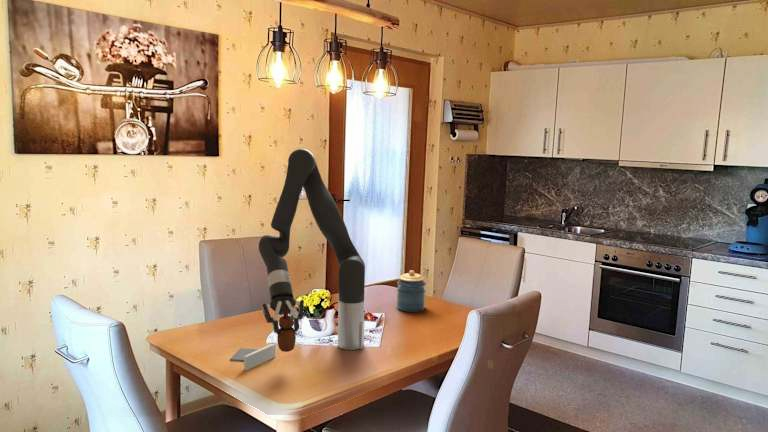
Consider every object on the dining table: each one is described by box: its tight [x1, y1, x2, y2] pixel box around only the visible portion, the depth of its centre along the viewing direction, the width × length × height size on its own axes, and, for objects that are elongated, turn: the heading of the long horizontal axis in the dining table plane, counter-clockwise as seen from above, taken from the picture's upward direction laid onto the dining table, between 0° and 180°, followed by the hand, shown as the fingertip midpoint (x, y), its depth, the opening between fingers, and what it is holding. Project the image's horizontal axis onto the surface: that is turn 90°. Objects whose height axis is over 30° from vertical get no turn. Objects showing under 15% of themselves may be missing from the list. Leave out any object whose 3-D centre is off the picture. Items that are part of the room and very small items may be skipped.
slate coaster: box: [229, 347, 260, 362], centre depth 194 cm, size 10×10×1 cm
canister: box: [396, 269, 427, 313], centre depth 253 cm, size 13×13×18 cm
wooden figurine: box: [276, 304, 297, 353], centre depth 182 cm, size 7×6×15 cm
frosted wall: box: [243, 343, 276, 371], centre depth 188 cm, size 14×1×4 cm, turn 150°
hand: (287, 331), depth 180 cm, fingers closed on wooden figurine, 5 cm apart
